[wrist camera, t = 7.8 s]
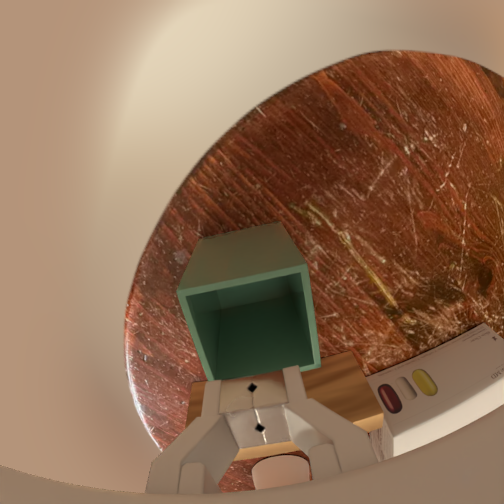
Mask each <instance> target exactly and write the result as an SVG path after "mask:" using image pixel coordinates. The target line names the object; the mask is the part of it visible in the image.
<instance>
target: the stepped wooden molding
mask: <svg viewBox="0 0 504 504" xmlns="http://www.w3.org/2000/svg"><path fill="white" fill-rule="evenodd" d="M320 359H321V367H320V368H316V369H312V370H307V371H303V372H301V376H302V380H303V384H304V387H305V391H306V395H307V399H310V398H313V399H314V400H316V401H318V402H319V403H321V404H322V405H324V406H325V407H327V408H329V409H330V410H332V411H333V412H335V413H337V414H338V415H340V416H342V417H343V418H345V419H347V420H348V421H350V422H352V423H353V424H355V425H357V426H358V427H360V428H362V429H363V430H365V431H366V432H370V431H373V430H376V429H379V428H382V426H383V417H384V412H383V410H382V408H381V406H380V404H379V402H378V400H377V398H376V396H375V394H374V392H373V391H372V389H371V387H370V385H369V383H368V381H367V379H366V377H365V375H364V373H363V372H362V370H361V368H360V366H359V364H358V362H357V360H356V358H355V357H354V355H353V353H352V351H347V352H344V353H340V354H336V355H332V356H328V357H324V358H320ZM206 382H207V381H201V382H194V383H192V388H191V394H190V400H189V407H188V413H187V419H186V426H185V429H186V428H187V427H188V426H189V425H190V424H191V423H192V422H193V420H194V419H195V418H196V417H201V413H202V405H203V397H204V389H205V384H206ZM298 450H301V449H299V448H298V447H297V446H296V445H295V444H294V443H293V442H292V441H287V442H281V443H275V444H268V445H262V446H256V447H250V448H244V449H239V452H238V454H237V455H236V457H235V458H234V460H233V461H237V460H245V459H252V458H259V457H266V456H272V455H277V454H283V453H288V452H293V451H298Z"/></svg>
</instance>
